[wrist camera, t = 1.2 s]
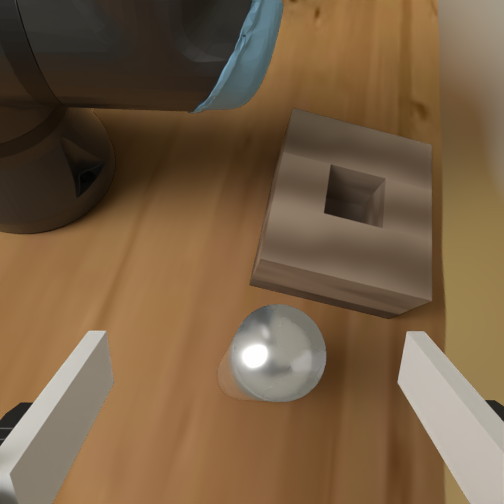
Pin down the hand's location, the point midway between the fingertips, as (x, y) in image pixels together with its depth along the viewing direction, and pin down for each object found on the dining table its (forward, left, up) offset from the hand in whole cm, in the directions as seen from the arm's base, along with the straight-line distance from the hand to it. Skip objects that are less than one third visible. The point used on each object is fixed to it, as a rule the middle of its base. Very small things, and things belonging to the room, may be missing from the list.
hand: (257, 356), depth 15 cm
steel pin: (0, +1, -16) cm, 16 cm away
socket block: (-10, +15, -16) cm, 24 cm away
